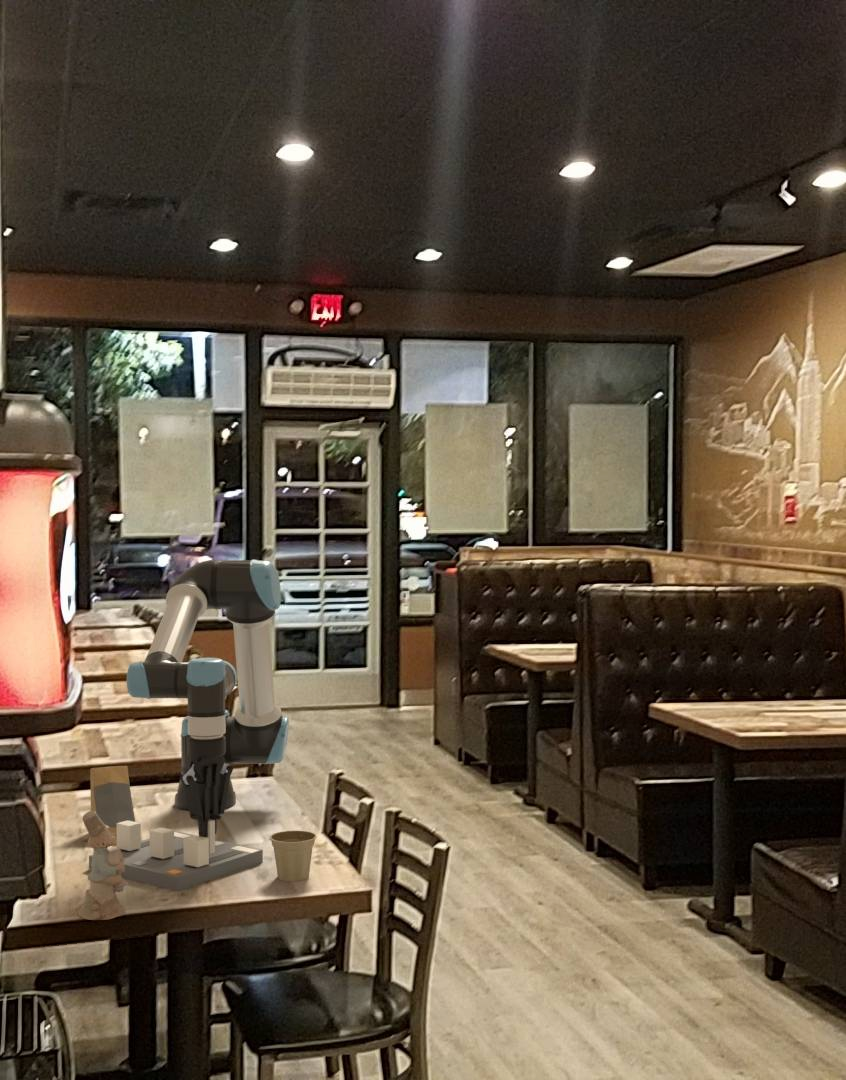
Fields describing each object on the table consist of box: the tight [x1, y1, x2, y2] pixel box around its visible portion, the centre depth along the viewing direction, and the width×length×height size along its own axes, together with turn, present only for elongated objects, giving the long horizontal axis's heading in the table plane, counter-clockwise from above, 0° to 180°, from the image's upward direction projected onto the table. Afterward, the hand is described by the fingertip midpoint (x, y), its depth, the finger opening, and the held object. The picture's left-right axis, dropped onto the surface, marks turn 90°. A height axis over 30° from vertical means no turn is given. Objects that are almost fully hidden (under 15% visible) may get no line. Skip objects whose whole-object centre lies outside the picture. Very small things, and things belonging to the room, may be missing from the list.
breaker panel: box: [88, 830, 264, 892], centre depth 261 cm, size 24×26×3 cm
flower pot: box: [269, 829, 318, 882], centre depth 253 cm, size 9×9×9 cm
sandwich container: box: [89, 765, 136, 848], centre depth 284 cm, size 9×15×15 cm, turn 23°
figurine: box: [77, 810, 129, 921], centre depth 230 cm, size 9×8×20 cm
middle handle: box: [149, 827, 175, 859], centre depth 258 cm, size 3×4×5 cm
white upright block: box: [183, 834, 209, 867], centre depth 252 cm, size 3×4×5 cm
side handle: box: [116, 820, 142, 851], centre depth 264 cm, size 3×4×5 cm
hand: (207, 851), depth 255 cm, fingers closed
